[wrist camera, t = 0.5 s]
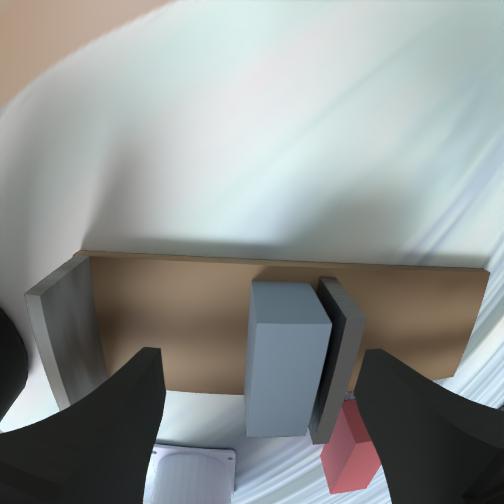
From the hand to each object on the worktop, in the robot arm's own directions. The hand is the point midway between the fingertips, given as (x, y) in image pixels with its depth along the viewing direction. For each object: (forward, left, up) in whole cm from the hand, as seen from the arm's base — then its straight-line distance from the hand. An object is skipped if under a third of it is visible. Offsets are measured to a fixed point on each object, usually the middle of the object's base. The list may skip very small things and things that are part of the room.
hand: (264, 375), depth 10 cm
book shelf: (-4, -4, -10) cm, 11 cm away
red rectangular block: (-15, -10, -10) cm, 20 cm away
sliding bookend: (-4, -5, -9) cm, 11 cm away
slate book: (-4, -2, -9) cm, 10 cm away
